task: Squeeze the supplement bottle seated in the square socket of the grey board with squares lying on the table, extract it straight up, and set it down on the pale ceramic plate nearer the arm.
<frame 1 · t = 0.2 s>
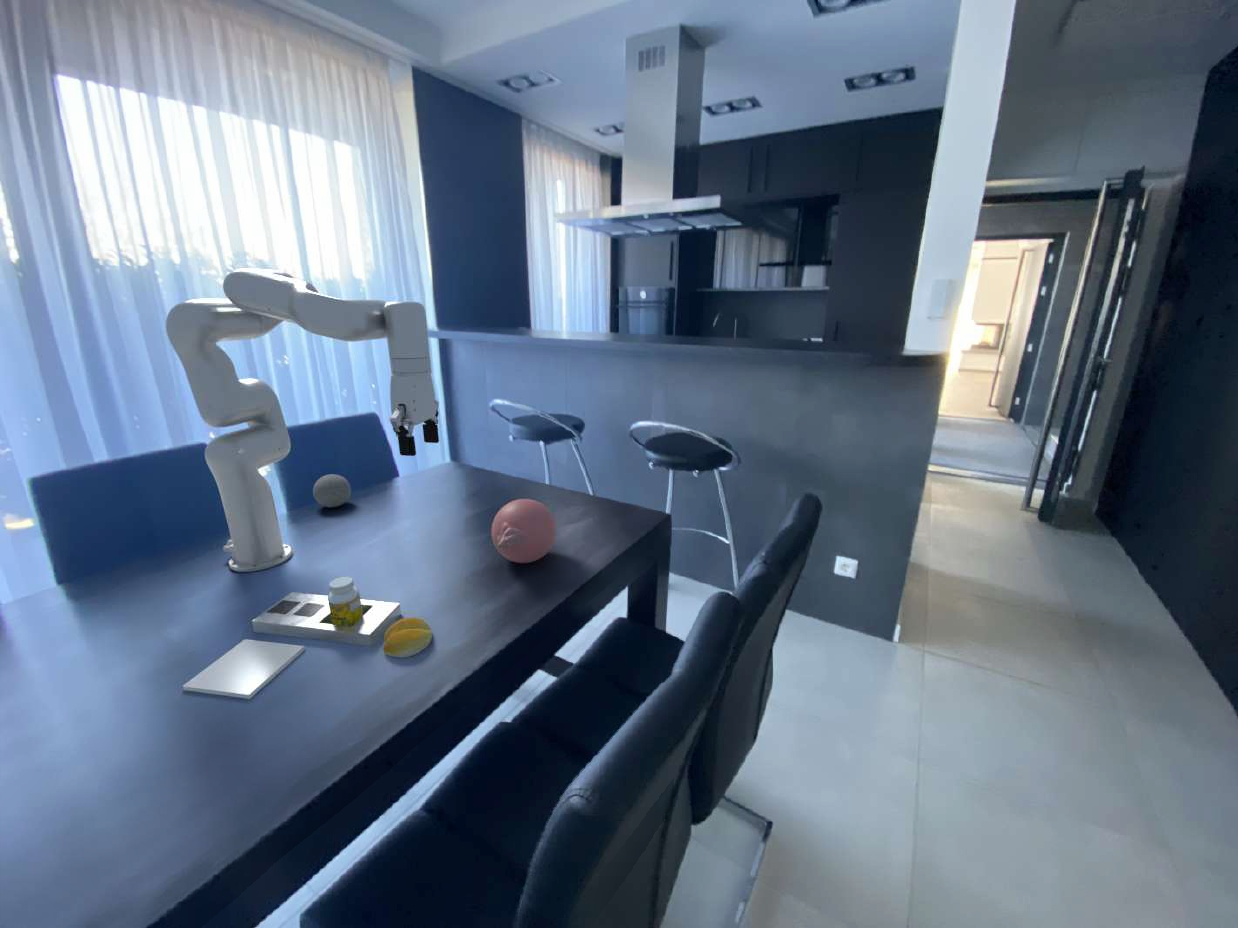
hand: (420, 448, 106), 31 cm above the table, fingers open, 9 cm apart
balloon: (520, 564, 123), on the table
plate: (247, 668, 87), on the table
supplement bottle: (348, 625, 99), resting in grey board with squares
grey board with squares: (330, 622, 99), on the table
bread roll: (407, 644, 94), on the table
decorative ball: (335, 506, 154), on the table
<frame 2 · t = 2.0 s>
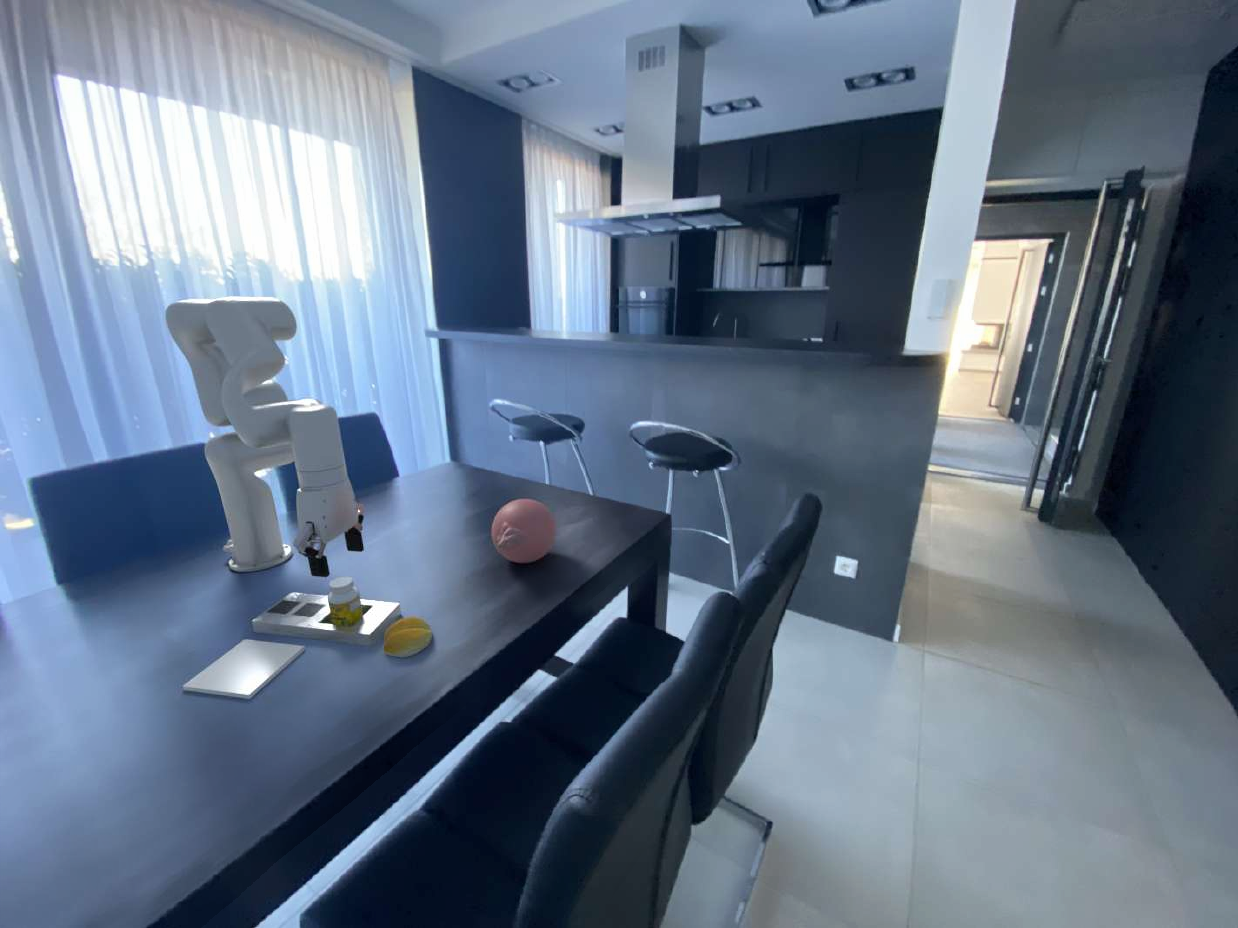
hand: (339, 562, 94), 14 cm above the table, fingers open, 9 cm apart
nothing on the table moved.
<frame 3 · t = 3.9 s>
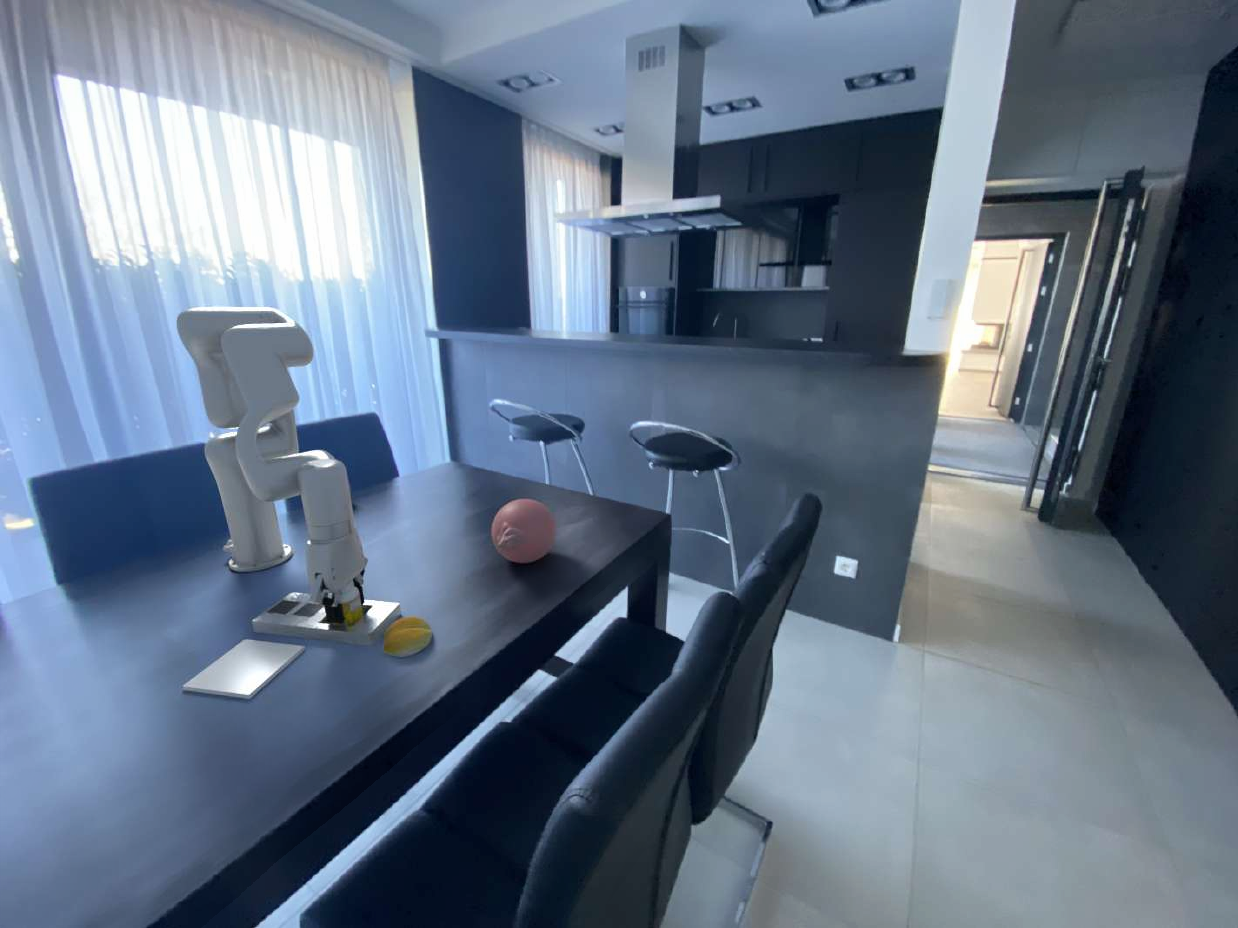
hand: (346, 611, 98), 3 cm above the table, fingers closed on supplement bottle, 5 cm apart
supplement bottle: (349, 625, 99), resting in grey board with squares, touching gripper
everything else where it was.
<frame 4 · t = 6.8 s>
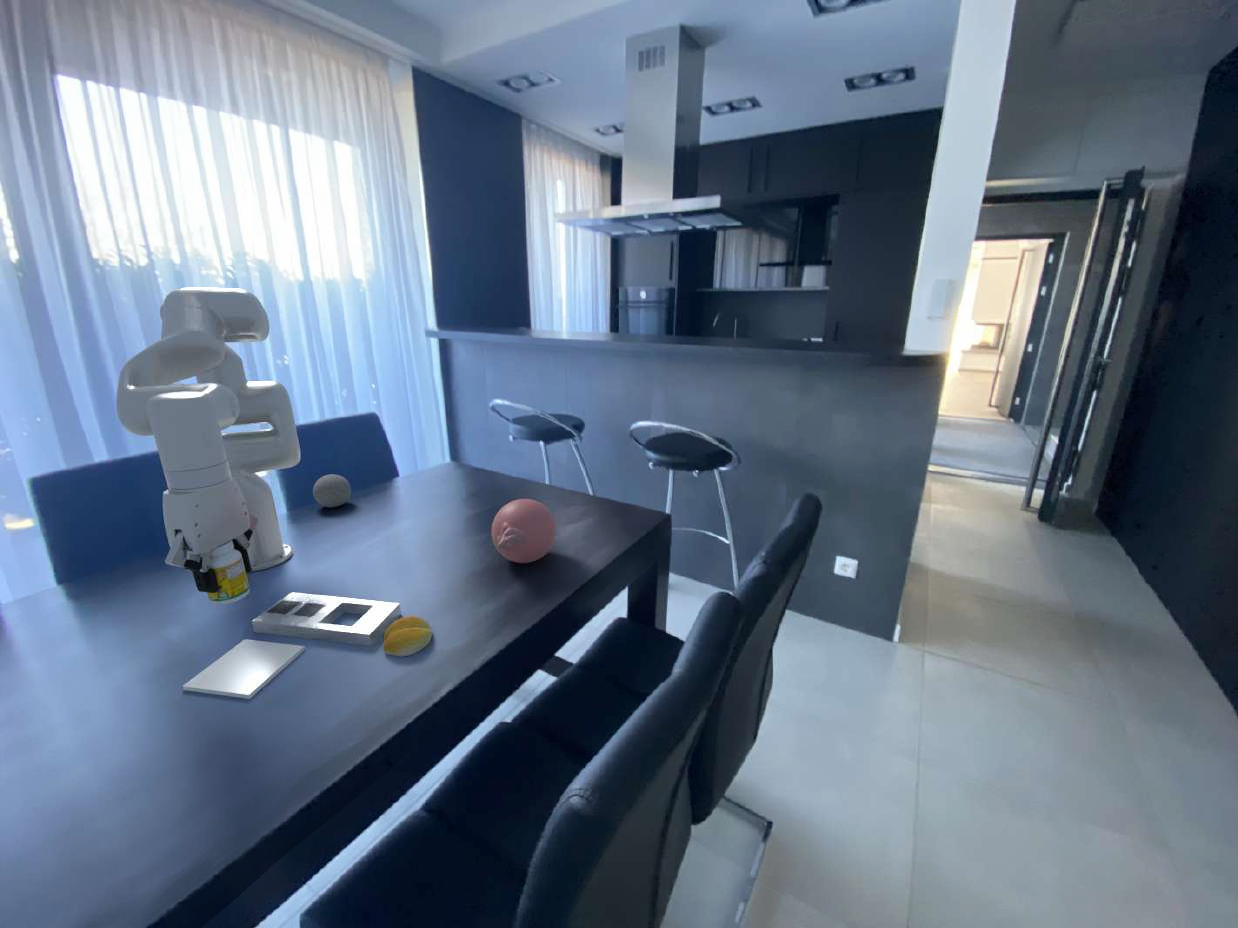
hand: (225, 579, 82), 17 cm above the table, fingers closed on supplement bottle, 5 cm apart
supplement bottle: (230, 597, 83), point 14 cm above the table, touching gripper
everything else where it was.
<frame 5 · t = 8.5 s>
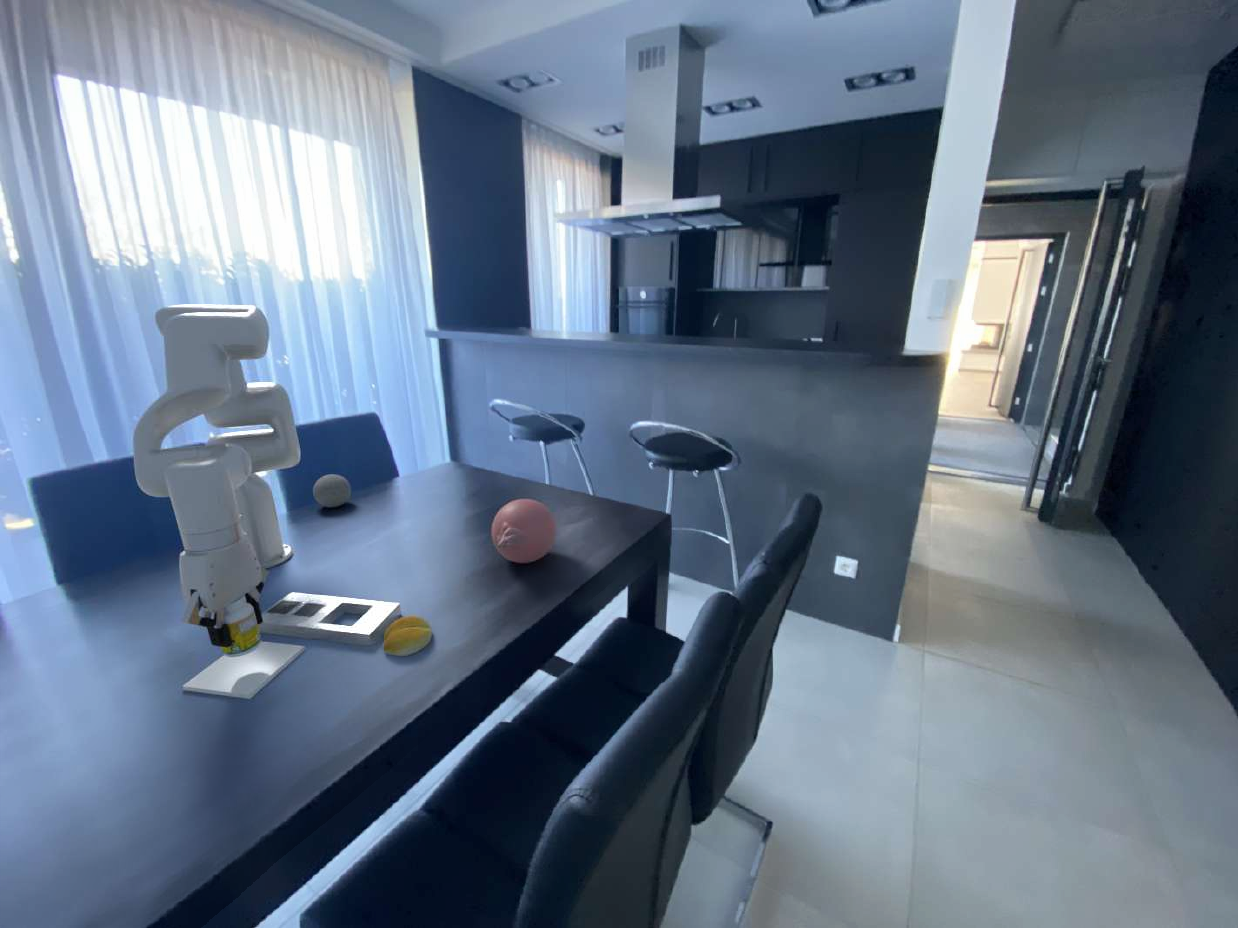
hand: (238, 632, 84), 7 cm above the table, fingers closed on supplement bottle, 5 cm apart
supplement bottle: (242, 648, 85), point 4 cm above the table, touching gripper
everything else where it was.
when the fingers open (5 cm above the table, at t = 9.8 s): supplement bottle drops 1 cm, resting on plate.
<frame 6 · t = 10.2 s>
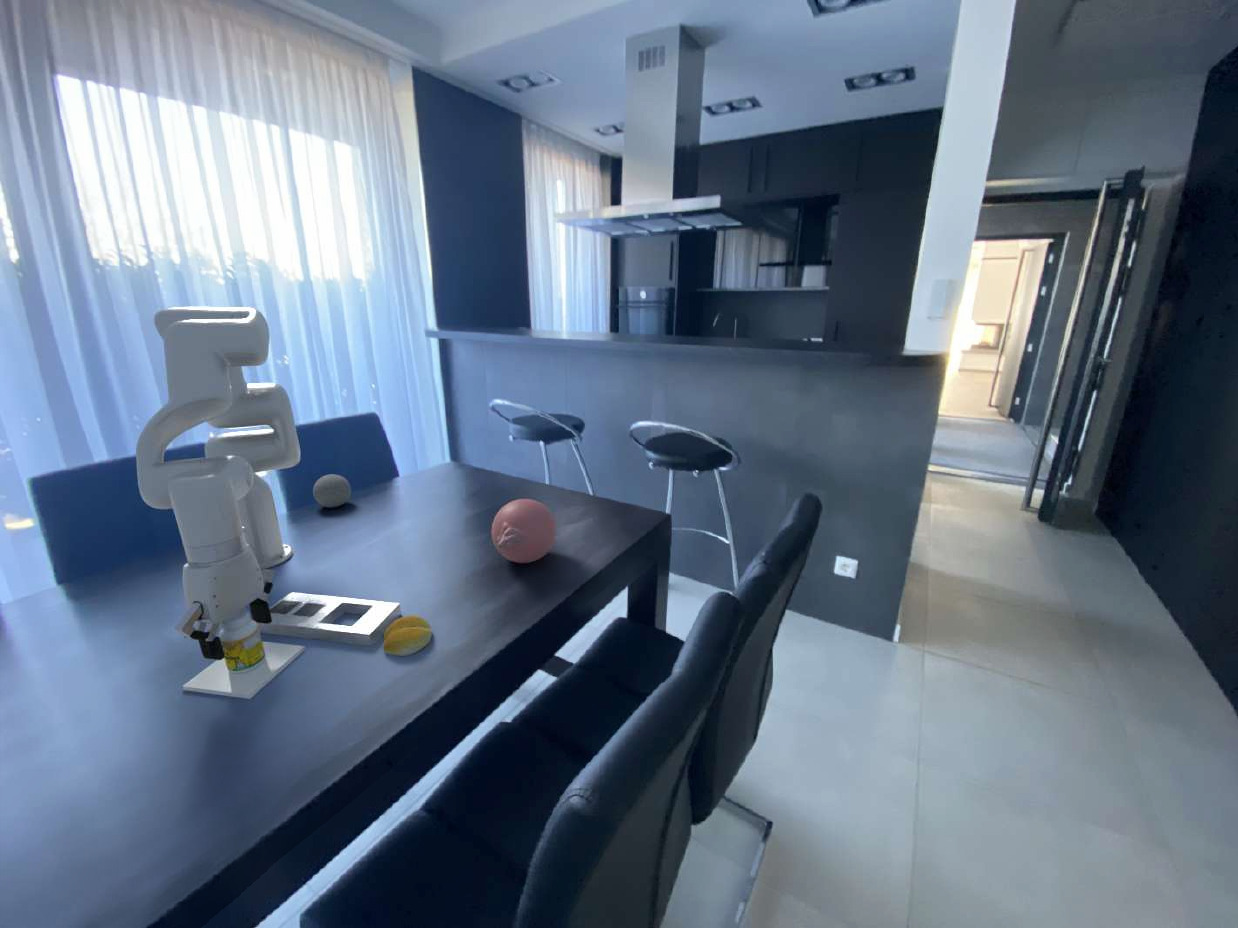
hand: (240, 639, 85), 6 cm above the table, fingers open, 9 cm apart
supplement bottle: (247, 664, 87), point 1 cm above the table, touching plate
everything else where it was.
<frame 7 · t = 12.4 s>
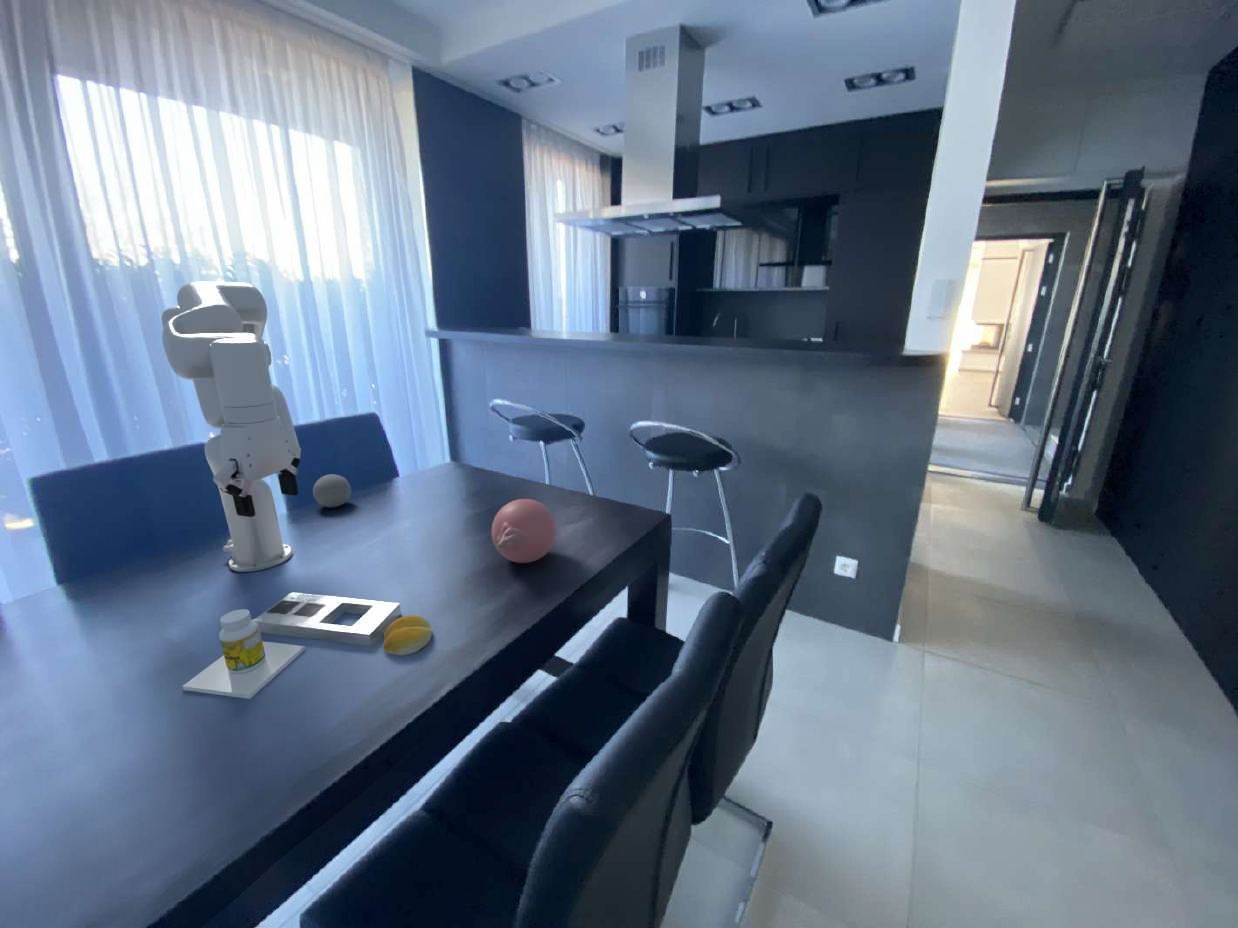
hand: (269, 504, 92), 25 cm above the table, fingers open, 9 cm apart
nothing on the table moved.
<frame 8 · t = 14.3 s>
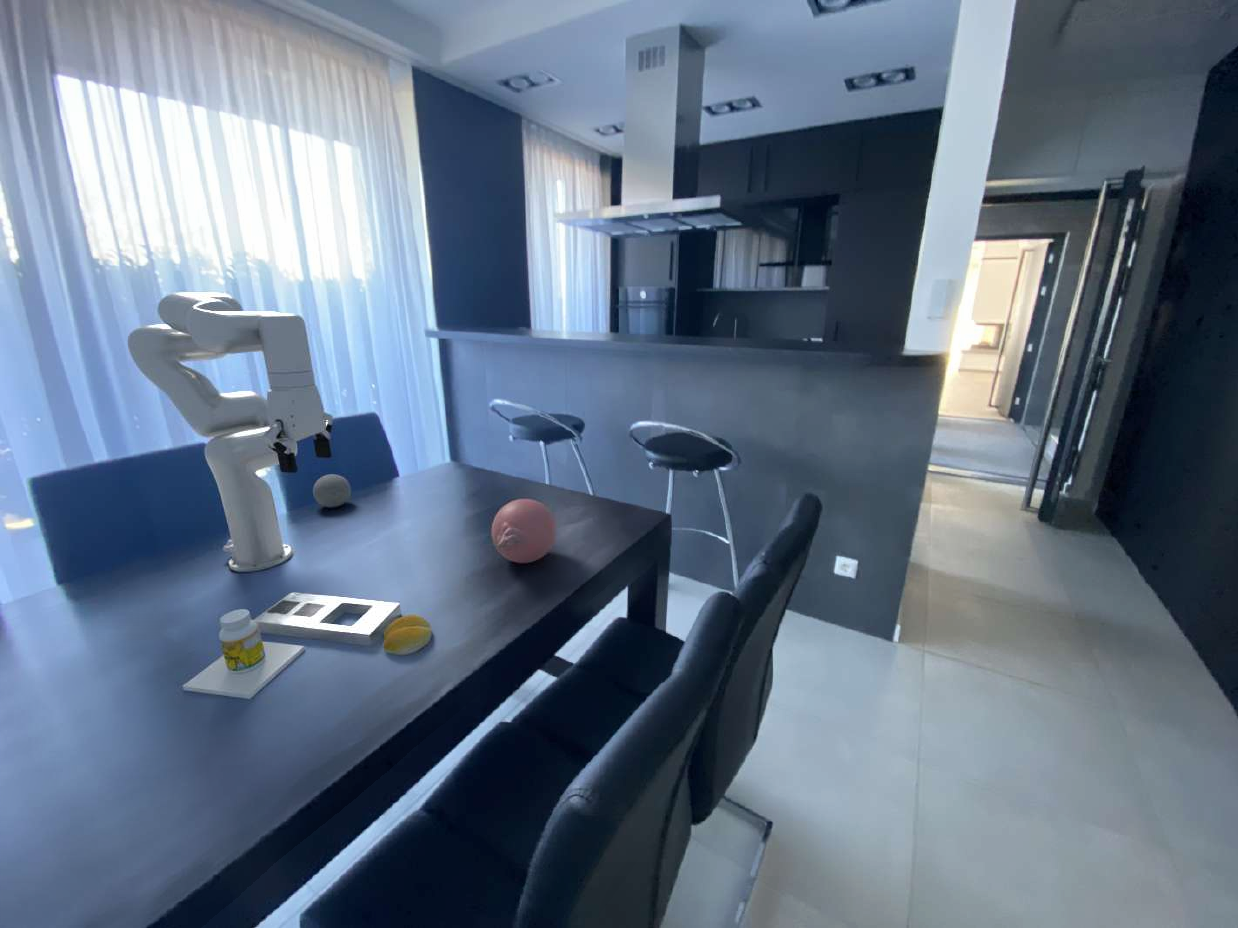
hand: (307, 464, 103), 28 cm above the table, fingers open, 9 cm apart
nothing on the table moved.
at the end: supplement bottle inside the target area on the plate (0.2 cm from its centre), point 0.6 cm above the plate's base; supplement bottle tilted 0°; the gripper is holding nothing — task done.
